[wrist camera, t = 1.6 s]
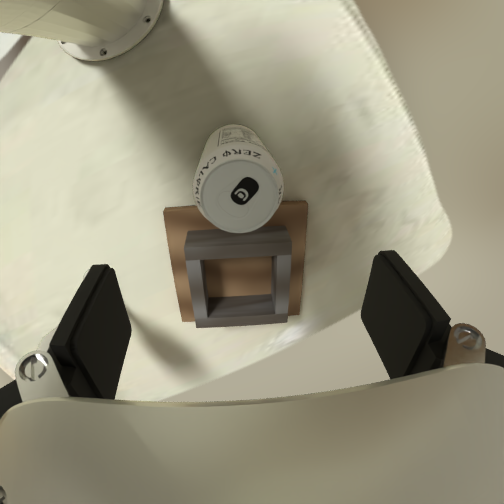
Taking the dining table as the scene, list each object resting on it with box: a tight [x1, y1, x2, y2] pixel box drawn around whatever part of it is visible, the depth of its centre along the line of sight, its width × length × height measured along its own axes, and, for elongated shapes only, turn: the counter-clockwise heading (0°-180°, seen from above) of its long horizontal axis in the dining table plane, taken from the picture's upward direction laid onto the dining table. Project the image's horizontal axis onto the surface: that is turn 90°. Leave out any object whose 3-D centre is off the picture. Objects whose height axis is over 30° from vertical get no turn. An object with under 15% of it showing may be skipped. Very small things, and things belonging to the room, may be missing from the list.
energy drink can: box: [193, 124, 284, 233], centre depth 25 cm, size 6×6×15 cm
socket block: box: [163, 201, 308, 328], centre depth 36 cm, size 16×16×5 cm
